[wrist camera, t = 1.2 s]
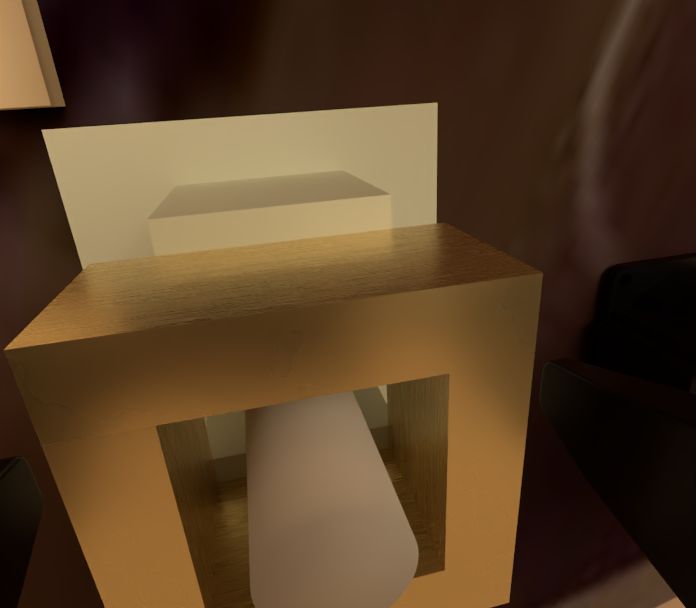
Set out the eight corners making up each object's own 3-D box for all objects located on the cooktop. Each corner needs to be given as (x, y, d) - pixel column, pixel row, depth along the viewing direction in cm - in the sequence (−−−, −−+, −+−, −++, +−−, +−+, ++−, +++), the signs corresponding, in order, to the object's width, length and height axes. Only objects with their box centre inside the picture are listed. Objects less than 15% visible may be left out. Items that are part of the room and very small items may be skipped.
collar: (444, 222, 8) (543, 273, 6) (439, 479, 11) (509, 602, 8) (89, 263, 7) (2, 349, 5) (169, 539, 10) (142, 703, 7)
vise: (410, 104, 13) (774, 80, 4) (413, 398, 17) (609, 711, 8) (71, 127, 12) (-474, 165, 3) (158, 446, 16) (50, 899, 7)
